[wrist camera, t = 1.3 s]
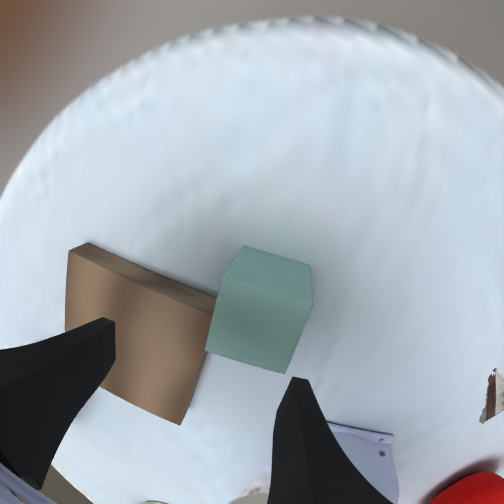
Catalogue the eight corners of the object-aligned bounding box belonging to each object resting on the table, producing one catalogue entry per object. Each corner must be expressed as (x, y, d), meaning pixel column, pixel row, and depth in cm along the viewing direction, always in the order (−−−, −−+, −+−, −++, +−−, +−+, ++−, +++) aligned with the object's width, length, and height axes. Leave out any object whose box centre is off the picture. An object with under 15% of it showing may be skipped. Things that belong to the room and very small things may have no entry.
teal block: (309, 264, 20) (313, 303, 14) (289, 322, 21) (284, 374, 15) (243, 245, 20) (222, 276, 14) (228, 304, 22) (204, 350, 16)
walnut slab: (224, 300, 21) (215, 316, 19) (188, 407, 25) (180, 425, 23) (87, 242, 22) (68, 250, 20) (80, 353, 25) (66, 366, 23)
